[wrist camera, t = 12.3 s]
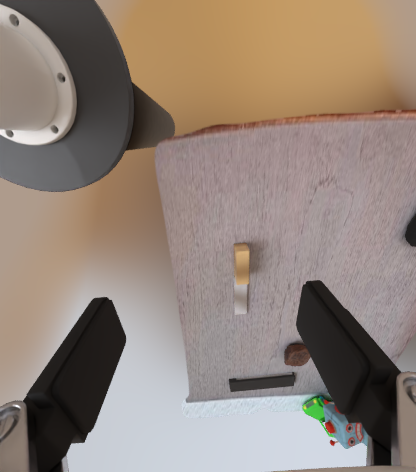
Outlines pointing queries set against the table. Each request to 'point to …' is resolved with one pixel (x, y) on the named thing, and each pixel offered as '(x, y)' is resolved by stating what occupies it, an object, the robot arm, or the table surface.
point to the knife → (241, 277)
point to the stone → (296, 355)
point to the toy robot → (343, 427)
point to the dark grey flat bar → (262, 382)
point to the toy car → (316, 410)
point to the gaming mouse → (411, 232)
